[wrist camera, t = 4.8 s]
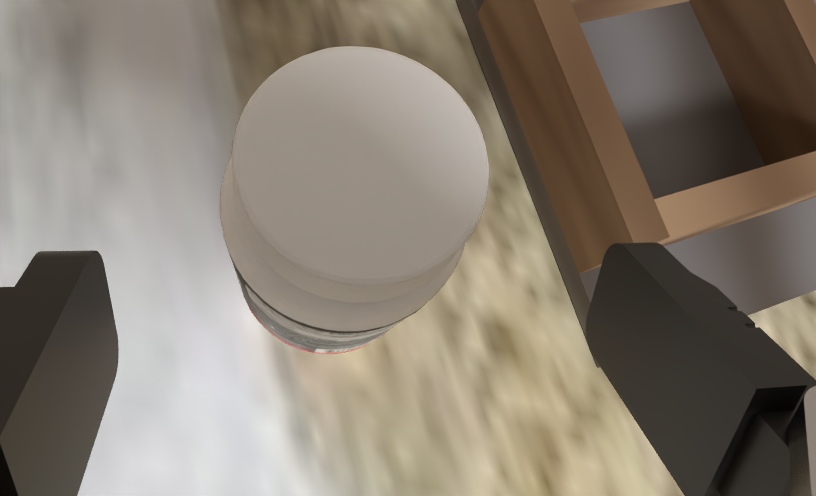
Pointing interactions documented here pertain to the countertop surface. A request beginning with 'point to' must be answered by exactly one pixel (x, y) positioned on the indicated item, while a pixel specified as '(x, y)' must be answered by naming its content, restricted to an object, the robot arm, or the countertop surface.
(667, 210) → the socket dock
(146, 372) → the countertop surface
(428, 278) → the pill bottle
